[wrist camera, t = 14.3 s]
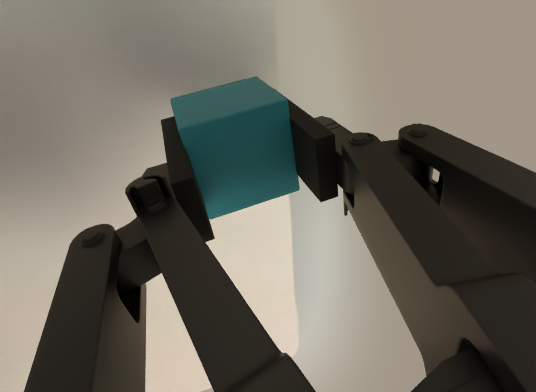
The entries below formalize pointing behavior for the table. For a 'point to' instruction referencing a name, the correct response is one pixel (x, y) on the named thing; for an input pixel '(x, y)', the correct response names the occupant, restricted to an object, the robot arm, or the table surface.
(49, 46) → the table surface
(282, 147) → the cube
